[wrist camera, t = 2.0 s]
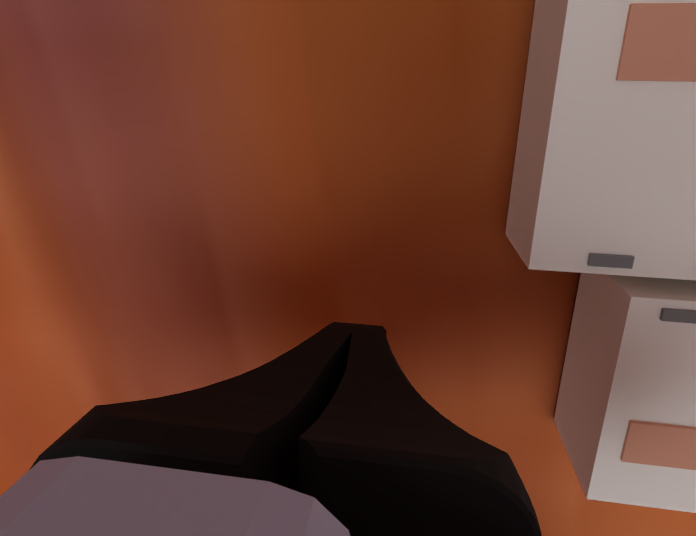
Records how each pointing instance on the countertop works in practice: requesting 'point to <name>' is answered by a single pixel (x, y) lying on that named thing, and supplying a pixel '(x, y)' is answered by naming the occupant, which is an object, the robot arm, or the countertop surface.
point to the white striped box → (608, 140)
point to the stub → (632, 391)
